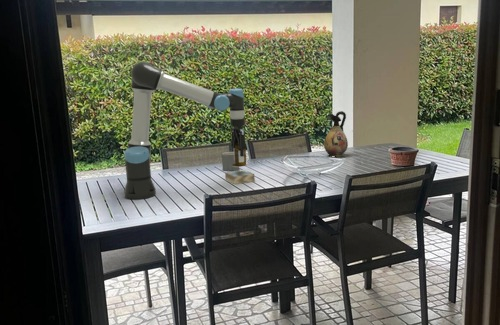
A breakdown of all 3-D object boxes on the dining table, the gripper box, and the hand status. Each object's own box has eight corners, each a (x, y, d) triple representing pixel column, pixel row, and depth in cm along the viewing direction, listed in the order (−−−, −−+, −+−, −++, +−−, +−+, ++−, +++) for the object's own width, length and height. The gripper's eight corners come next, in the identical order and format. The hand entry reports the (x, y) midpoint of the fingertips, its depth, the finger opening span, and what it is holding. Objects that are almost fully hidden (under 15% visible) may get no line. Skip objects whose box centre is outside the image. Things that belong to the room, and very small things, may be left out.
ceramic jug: (329, 159, 294) (329, 113, 287) (320, 154, 308) (320, 110, 302) (353, 157, 297) (354, 111, 291) (344, 153, 312) (344, 109, 305)
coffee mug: (241, 170, 270) (240, 153, 268) (225, 172, 267) (224, 155, 265) (234, 166, 283) (233, 150, 281) (218, 167, 279) (218, 151, 277)
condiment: (249, 165, 244) (248, 143, 242) (236, 167, 240) (235, 145, 237) (242, 163, 250) (241, 141, 248) (229, 165, 246) (228, 143, 243)
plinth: (233, 184, 239) (233, 176, 238) (225, 179, 250) (225, 172, 249) (254, 181, 244) (254, 173, 243) (245, 176, 254) (245, 169, 253)
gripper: (251, 119, 232) (252, 163, 237) (236, 116, 249) (238, 157, 254) (237, 120, 229) (239, 165, 234) (224, 117, 246) (226, 158, 251)
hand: (239, 160), depth 244 cm, fingers closed on condiment, 6 cm apart
